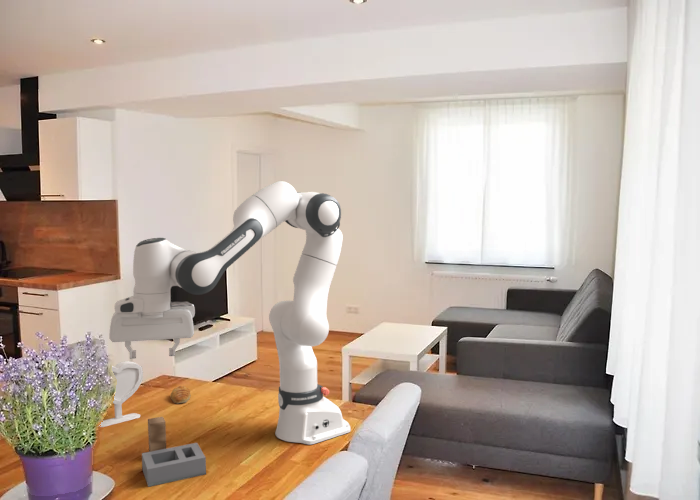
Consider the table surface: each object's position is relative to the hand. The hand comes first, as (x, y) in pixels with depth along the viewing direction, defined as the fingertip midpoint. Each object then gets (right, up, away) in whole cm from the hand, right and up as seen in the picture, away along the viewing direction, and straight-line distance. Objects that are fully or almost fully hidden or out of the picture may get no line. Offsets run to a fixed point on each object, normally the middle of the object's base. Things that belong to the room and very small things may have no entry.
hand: (152, 356), depth 151 cm
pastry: (-9, -25, +57) cm, 63 cm away
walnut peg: (-3, -29, +13) cm, 32 cm away
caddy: (+5, -30, +3) cm, 31 cm away
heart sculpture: (-23, -27, +38) cm, 52 cm away
